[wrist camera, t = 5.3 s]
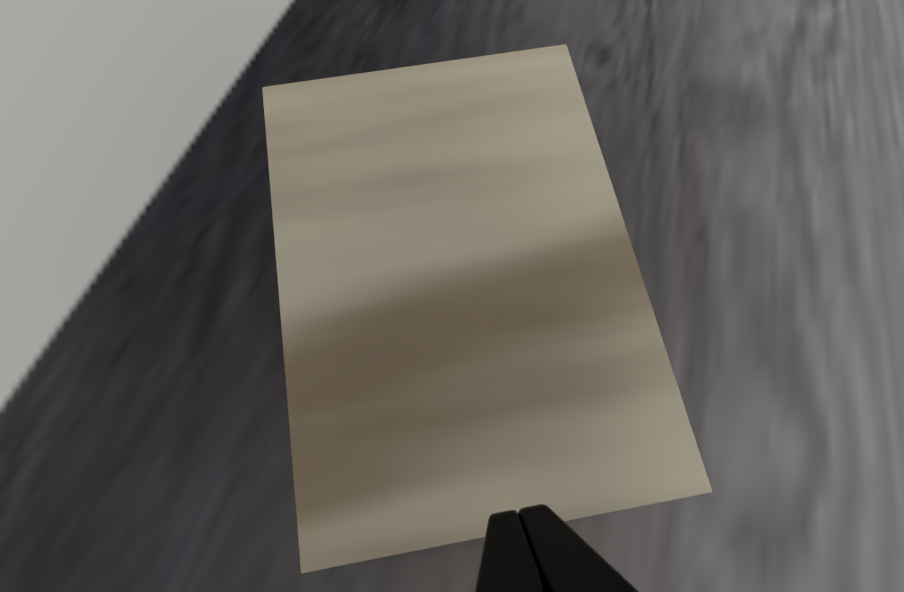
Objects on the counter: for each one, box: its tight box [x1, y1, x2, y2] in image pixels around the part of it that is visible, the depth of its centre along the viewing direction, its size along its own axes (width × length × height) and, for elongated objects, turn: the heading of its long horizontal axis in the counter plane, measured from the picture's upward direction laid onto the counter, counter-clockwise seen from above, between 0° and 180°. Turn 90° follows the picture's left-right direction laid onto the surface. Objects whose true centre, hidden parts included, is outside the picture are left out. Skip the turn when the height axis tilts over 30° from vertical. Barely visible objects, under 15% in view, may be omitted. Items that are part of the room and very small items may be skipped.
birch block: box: [262, 44, 712, 573], centre depth 14 cm, size 5×7×10 cm
